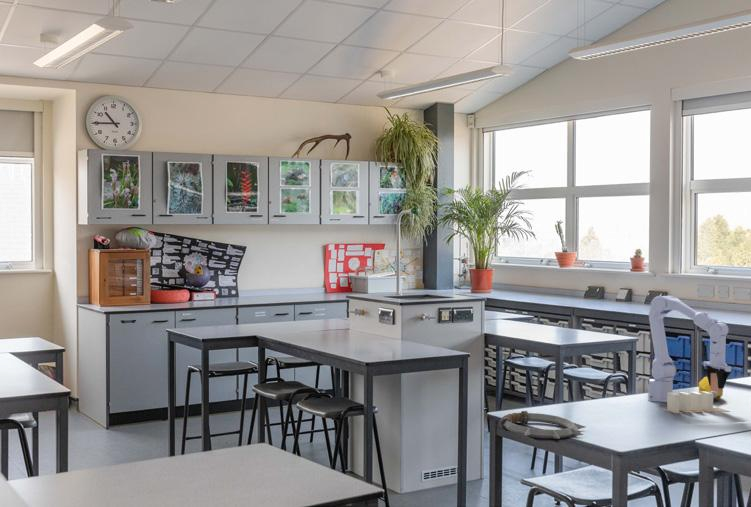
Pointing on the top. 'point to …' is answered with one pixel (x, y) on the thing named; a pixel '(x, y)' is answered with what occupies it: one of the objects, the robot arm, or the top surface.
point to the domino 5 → (715, 384)
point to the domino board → (697, 412)
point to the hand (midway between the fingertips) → (716, 387)
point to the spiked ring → (524, 417)
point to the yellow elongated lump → (708, 389)
